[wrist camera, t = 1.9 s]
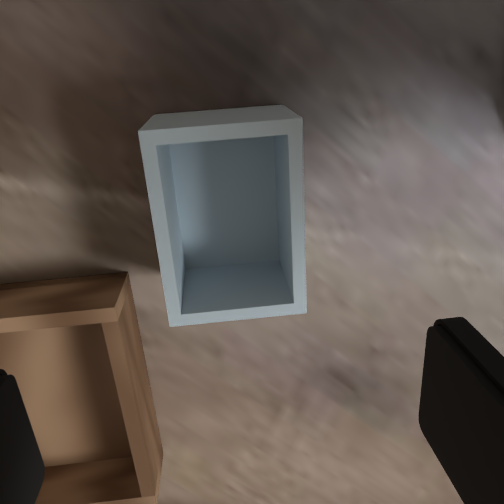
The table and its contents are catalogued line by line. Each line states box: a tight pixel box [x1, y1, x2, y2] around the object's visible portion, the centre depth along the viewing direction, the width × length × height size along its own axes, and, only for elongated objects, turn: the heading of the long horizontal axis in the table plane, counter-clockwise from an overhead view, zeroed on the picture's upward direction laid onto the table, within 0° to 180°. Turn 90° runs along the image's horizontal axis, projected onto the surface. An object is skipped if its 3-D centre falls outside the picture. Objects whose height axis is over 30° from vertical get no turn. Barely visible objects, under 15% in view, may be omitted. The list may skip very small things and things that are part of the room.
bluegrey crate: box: [138, 104, 307, 327], centre depth 22 cm, size 6×9×6 cm
